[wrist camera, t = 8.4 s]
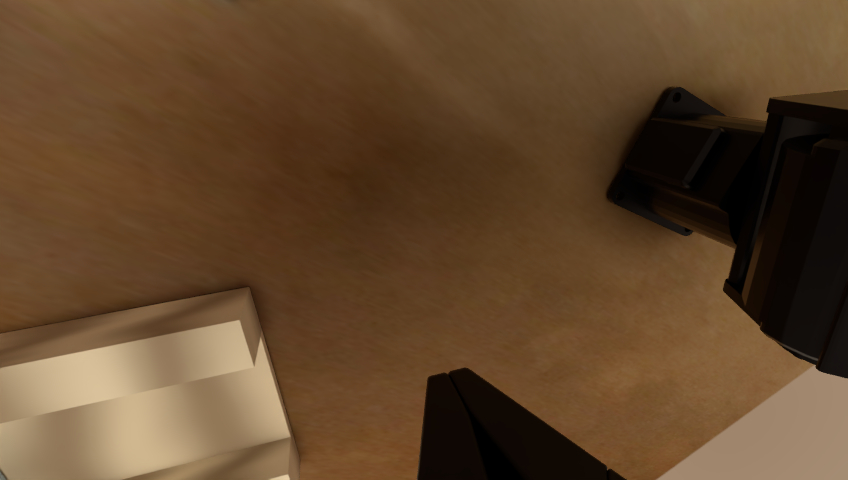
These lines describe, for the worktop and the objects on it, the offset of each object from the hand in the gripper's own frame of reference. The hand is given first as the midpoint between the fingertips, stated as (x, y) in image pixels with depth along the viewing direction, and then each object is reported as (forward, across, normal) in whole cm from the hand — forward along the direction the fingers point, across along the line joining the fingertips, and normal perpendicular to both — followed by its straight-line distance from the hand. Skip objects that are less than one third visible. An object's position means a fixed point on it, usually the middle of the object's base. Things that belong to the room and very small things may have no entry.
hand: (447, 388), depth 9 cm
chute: (+13, +16, +9) cm, 22 cm away
